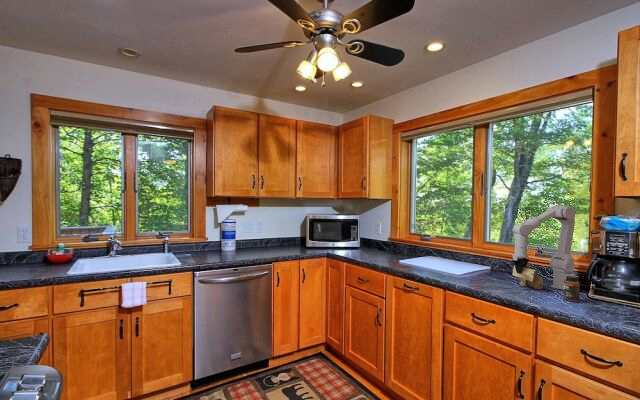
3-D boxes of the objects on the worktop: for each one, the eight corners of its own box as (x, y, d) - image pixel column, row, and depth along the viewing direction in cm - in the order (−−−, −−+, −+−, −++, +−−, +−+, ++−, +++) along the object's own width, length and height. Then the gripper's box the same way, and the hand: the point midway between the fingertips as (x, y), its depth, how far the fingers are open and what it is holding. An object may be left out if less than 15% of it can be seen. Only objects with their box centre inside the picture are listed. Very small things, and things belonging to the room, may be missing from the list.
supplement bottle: (579, 300, 145) (580, 276, 145) (579, 303, 141) (579, 278, 141) (563, 297, 149) (564, 274, 149) (562, 300, 145) (563, 276, 145)
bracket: (542, 288, 165) (542, 275, 165) (539, 289, 162) (539, 276, 162) (523, 284, 172) (523, 272, 172) (520, 285, 169) (520, 273, 169)
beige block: (535, 281, 159) (537, 270, 158) (533, 281, 157) (535, 271, 156) (514, 274, 167) (516, 264, 166) (512, 275, 165) (514, 265, 164)
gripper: (518, 244, 171) (518, 269, 171) (506, 247, 162) (506, 272, 162) (533, 246, 165) (532, 272, 165) (521, 248, 156) (521, 275, 156)
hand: (520, 272), depth 163 cm, fingers closed on beige block, 3 cm apart
